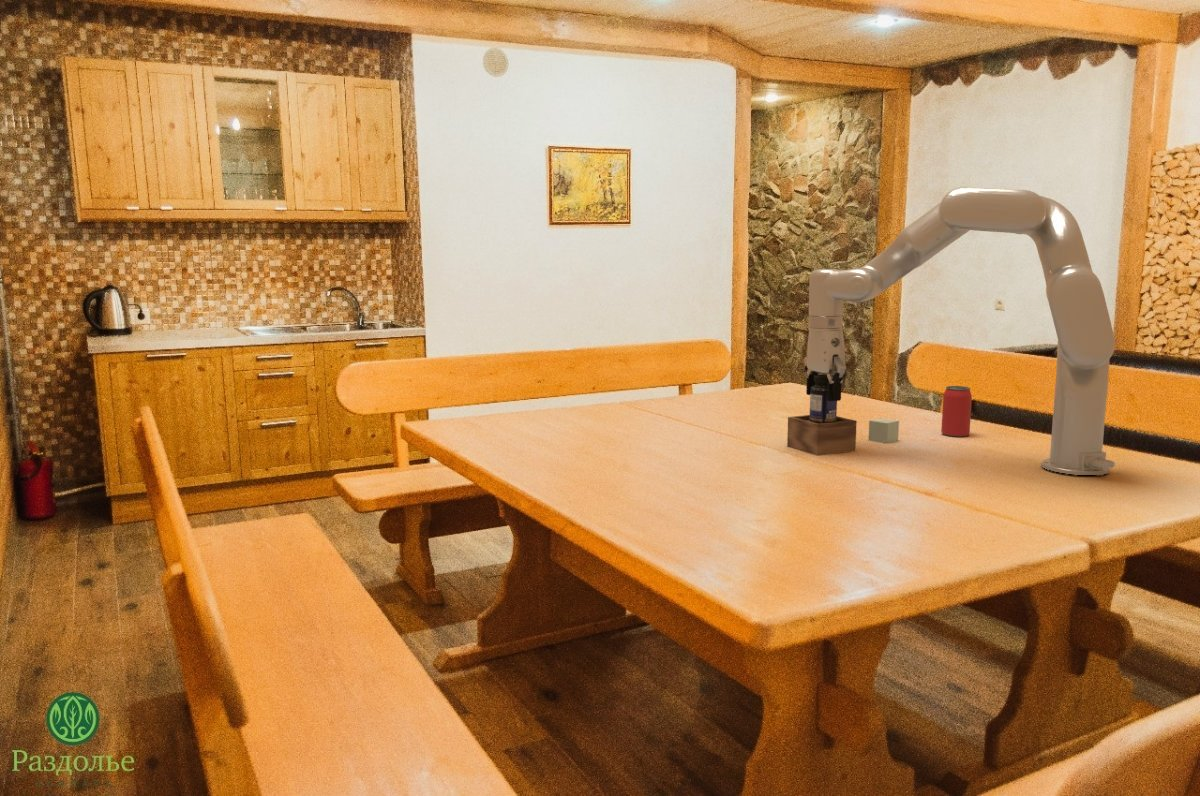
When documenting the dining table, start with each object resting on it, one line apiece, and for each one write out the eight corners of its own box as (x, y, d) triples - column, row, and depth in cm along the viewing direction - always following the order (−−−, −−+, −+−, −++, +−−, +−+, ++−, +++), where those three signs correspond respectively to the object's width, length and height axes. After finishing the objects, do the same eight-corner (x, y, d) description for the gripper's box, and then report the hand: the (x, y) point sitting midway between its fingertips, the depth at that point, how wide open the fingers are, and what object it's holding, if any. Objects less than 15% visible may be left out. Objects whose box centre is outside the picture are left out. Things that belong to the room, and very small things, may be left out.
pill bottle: (833, 420, 210) (836, 374, 209) (838, 425, 204) (840, 378, 203) (807, 420, 211) (809, 373, 209) (810, 425, 205) (812, 377, 203)
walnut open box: (855, 450, 206) (856, 420, 205) (817, 455, 201) (818, 424, 200) (824, 441, 216) (825, 413, 215) (787, 446, 211) (788, 417, 210)
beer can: (973, 437, 220) (976, 389, 219) (946, 437, 221) (949, 389, 219) (963, 432, 227) (966, 385, 225) (937, 432, 227) (939, 385, 225)
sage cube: (898, 440, 217) (898, 420, 216) (886, 443, 214) (887, 423, 213) (879, 438, 221) (880, 418, 220) (868, 440, 218) (869, 420, 217)
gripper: (860, 325, 197) (857, 402, 199) (821, 320, 213) (819, 391, 216) (829, 326, 195) (827, 404, 198) (792, 321, 211) (791, 393, 214)
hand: (823, 397), depth 207 cm, fingers open, 9 cm apart
